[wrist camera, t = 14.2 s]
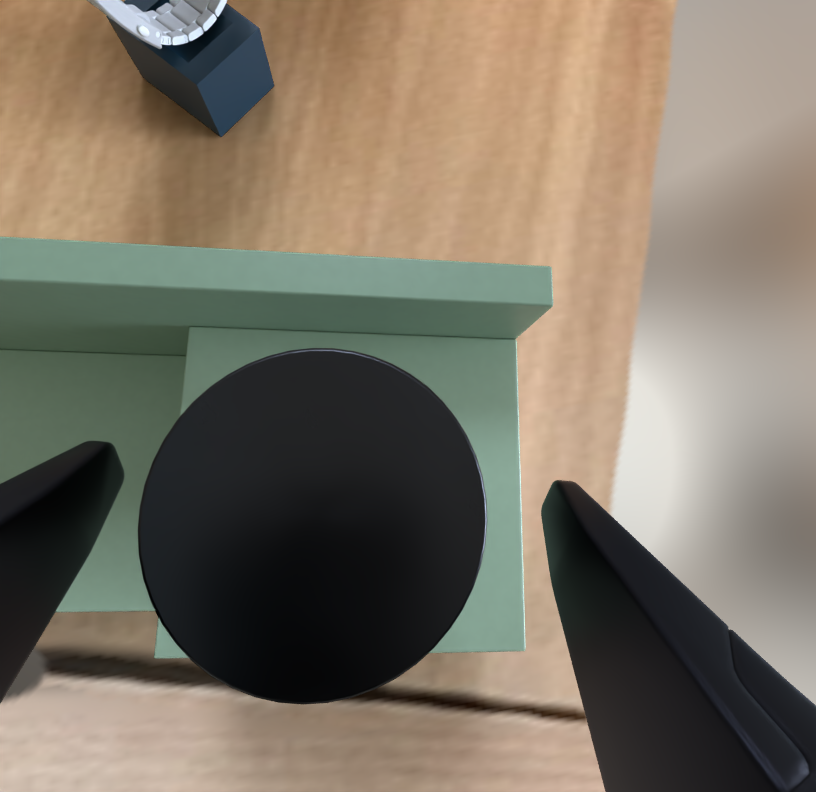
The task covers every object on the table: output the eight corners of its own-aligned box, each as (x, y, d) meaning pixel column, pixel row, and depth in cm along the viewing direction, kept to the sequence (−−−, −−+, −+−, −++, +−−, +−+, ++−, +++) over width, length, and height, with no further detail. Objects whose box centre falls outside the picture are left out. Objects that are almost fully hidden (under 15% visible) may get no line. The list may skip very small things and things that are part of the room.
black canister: (318, 583, 13) (223, 786, 5) (257, 453, 13) (80, 437, 5) (444, 514, 13) (548, 588, 5) (382, 392, 14) (394, 295, 6)
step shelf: (470, 356, 21) (552, 265, 12) (472, 586, 20) (572, 708, 10) (16, 340, 20) (-340, 216, 10) (-29, 590, 18) (-520, 743, 8)
